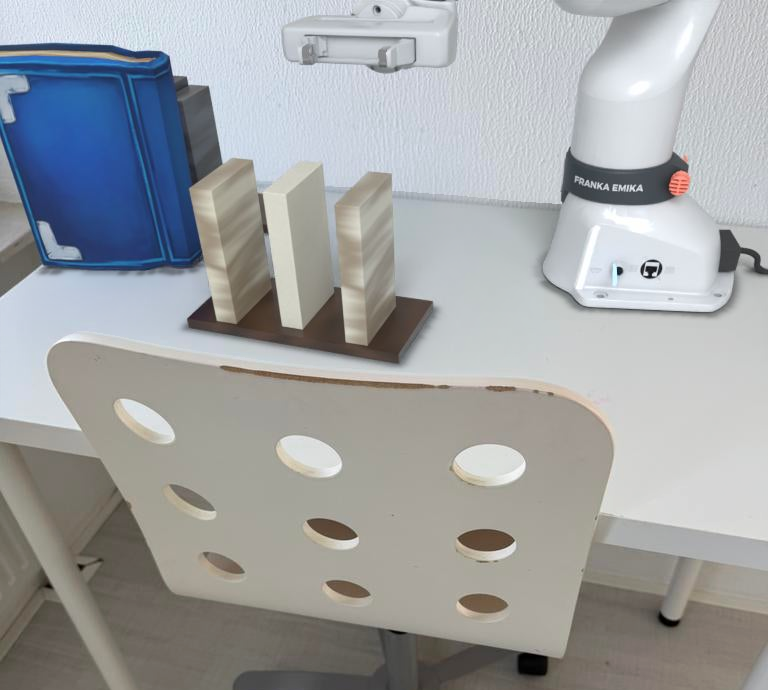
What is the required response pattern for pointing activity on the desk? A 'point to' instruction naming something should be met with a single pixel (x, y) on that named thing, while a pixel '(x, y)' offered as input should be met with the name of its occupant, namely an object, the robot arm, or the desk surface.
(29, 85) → the book
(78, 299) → the desk surface
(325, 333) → the ivory stand
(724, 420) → the desk surface
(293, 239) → the ivory book
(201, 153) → the grey stand
